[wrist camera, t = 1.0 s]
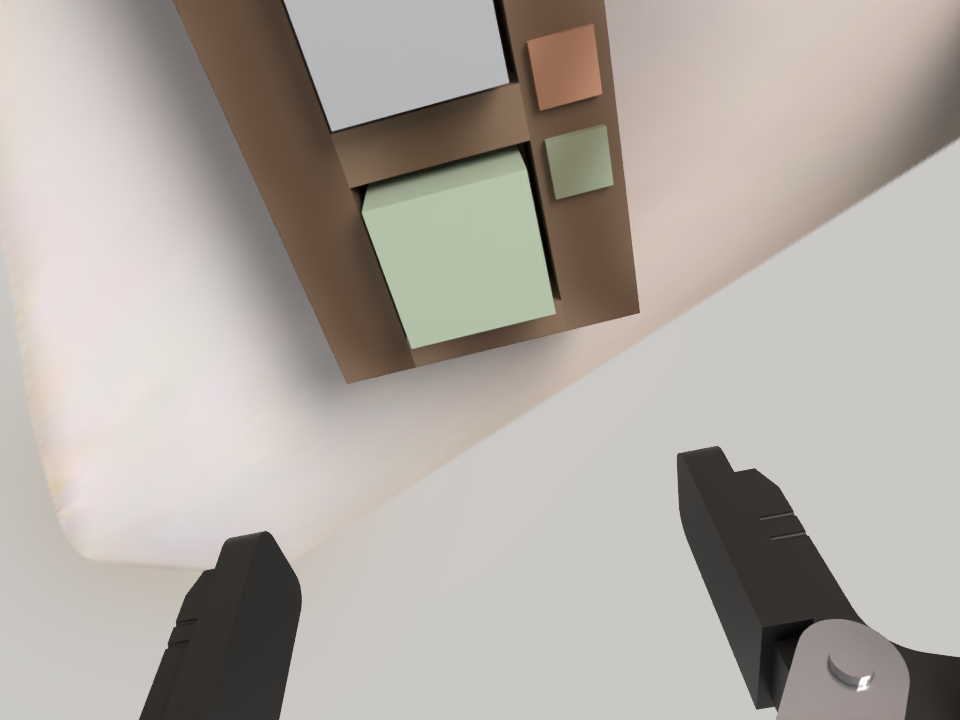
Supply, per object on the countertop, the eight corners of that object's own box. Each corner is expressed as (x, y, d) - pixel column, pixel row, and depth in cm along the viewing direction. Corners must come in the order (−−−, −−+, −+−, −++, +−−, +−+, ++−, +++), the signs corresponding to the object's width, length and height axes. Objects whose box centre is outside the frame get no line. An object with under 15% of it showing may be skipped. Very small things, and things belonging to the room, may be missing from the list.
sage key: (515, 142, 22) (526, 169, 20) (543, 276, 25) (555, 313, 23) (368, 181, 23) (361, 212, 20) (413, 308, 26) (411, 349, 23)
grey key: (457, -138, 18) (462, -149, 15) (499, 64, 21) (509, 82, 18) (276, -83, 18) (252, -85, 16) (342, 108, 21) (332, 131, 19)
